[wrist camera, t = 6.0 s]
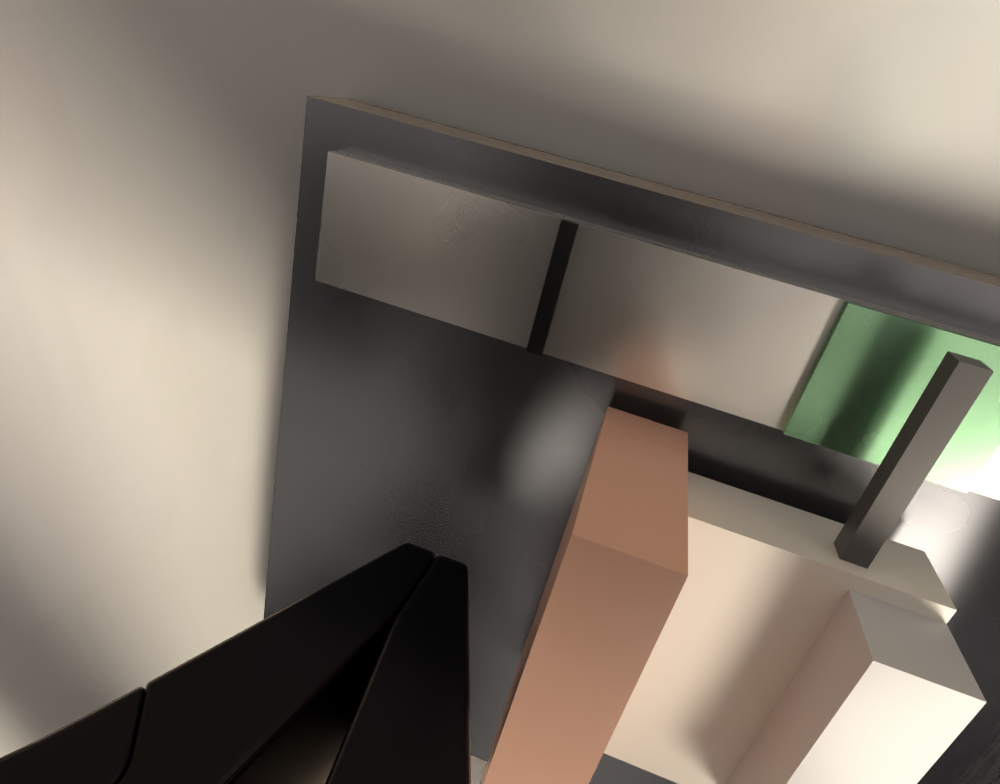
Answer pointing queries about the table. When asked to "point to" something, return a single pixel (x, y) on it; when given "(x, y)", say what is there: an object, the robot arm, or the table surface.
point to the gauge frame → (600, 377)
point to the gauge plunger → (741, 624)
